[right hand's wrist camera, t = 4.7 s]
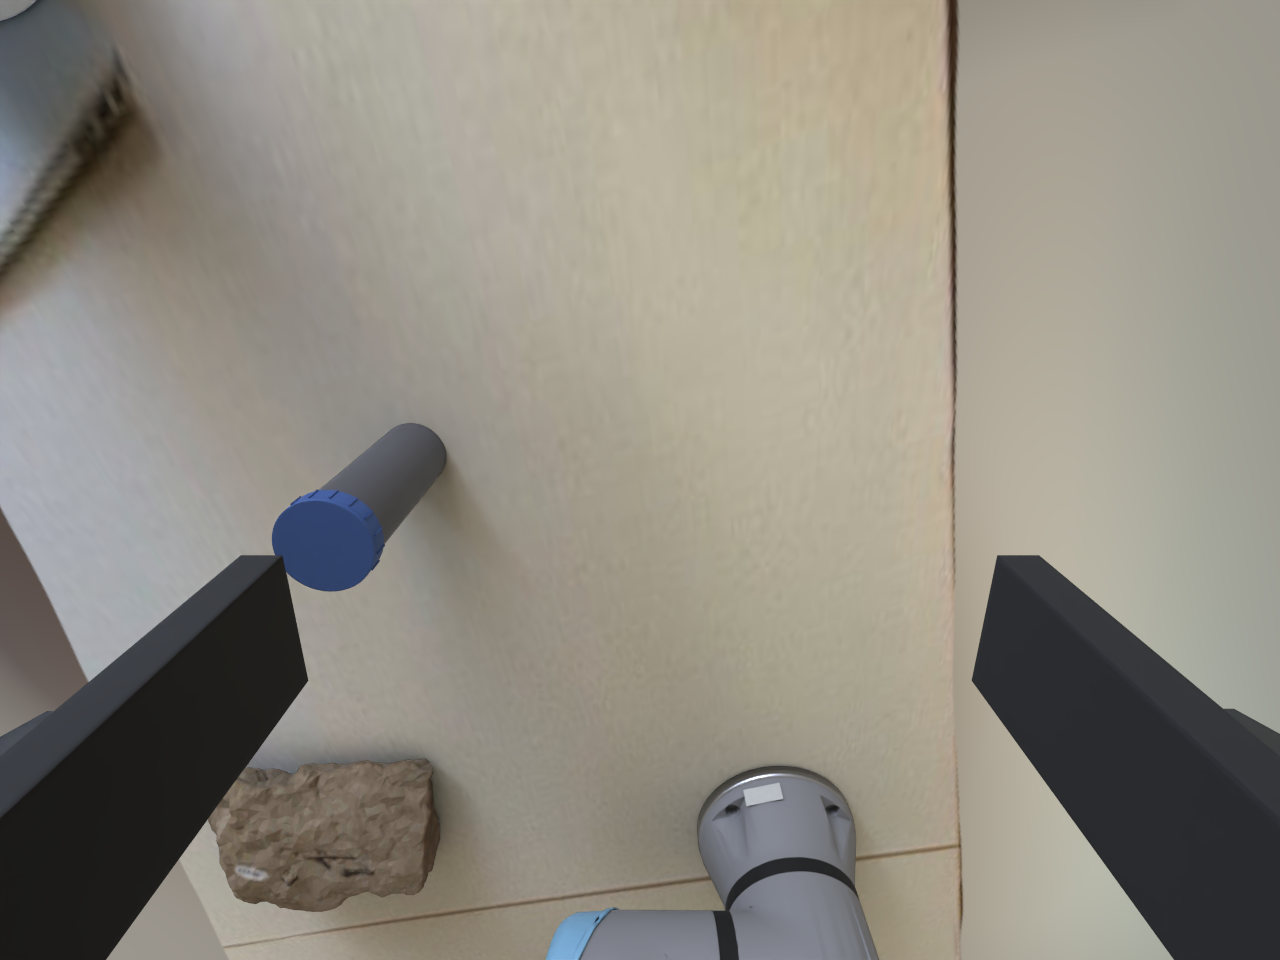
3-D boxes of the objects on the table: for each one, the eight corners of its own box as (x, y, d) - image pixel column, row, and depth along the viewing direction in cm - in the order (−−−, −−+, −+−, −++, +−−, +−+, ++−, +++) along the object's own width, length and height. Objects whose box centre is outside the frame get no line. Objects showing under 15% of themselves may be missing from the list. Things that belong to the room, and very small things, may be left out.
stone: (219, 890, 67) (190, 939, 61) (209, 747, 65) (178, 783, 59) (442, 868, 70) (435, 912, 64) (439, 732, 68) (432, 764, 63)
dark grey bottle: (454, 438, 54) (381, 522, 39) (435, 493, 56) (357, 594, 40) (392, 413, 53) (293, 489, 38) (374, 469, 55) (272, 564, 40)
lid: (396, 511, 40) (387, 523, 38) (369, 591, 42) (359, 605, 40) (298, 474, 39) (284, 484, 38) (275, 557, 41) (260, 570, 39)
